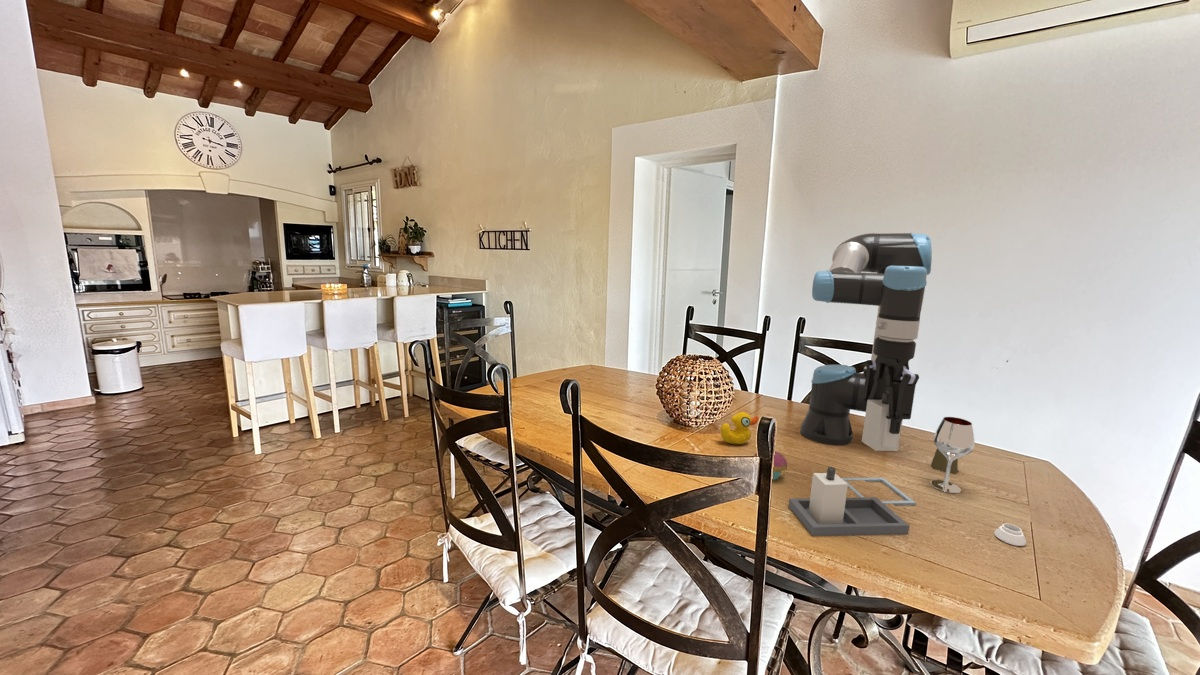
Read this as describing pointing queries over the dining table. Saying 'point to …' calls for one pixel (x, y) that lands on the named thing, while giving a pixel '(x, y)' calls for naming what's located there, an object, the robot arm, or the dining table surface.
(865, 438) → the white block with peg
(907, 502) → the square frame
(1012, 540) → the white short tapered ring
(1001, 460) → the dining table surface
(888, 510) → the two-slot grey rack
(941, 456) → the cork
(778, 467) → the cupcake
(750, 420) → the duckling
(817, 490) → the white plug
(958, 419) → the wineglass
